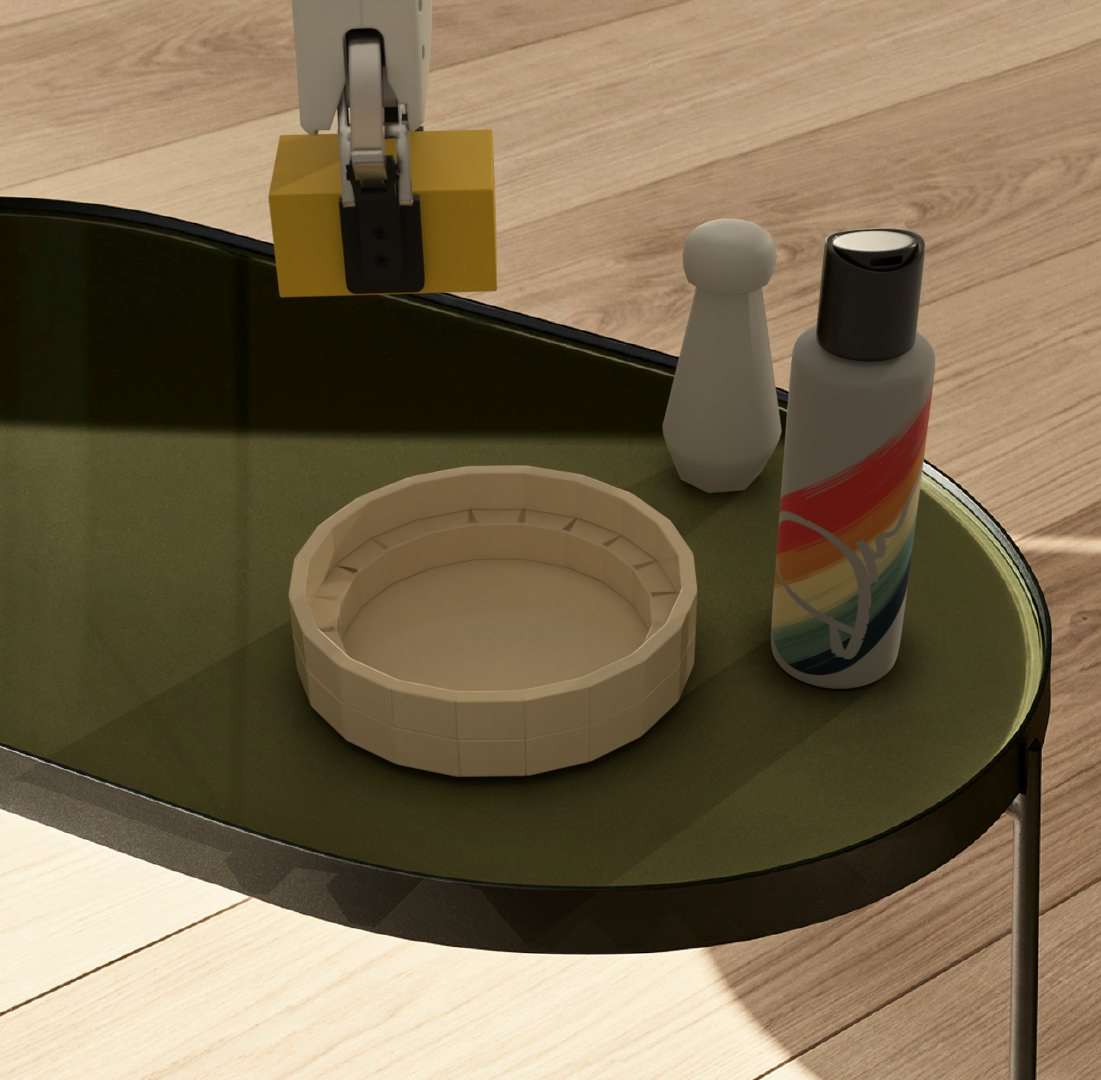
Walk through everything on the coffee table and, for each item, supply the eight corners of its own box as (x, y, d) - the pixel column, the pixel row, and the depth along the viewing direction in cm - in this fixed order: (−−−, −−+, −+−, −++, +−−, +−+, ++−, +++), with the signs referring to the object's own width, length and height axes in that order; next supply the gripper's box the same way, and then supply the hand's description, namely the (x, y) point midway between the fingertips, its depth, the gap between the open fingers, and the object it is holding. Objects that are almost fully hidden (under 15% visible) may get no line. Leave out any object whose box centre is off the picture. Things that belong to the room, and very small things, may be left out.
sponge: (279, 298, 82) (267, 195, 80) (290, 233, 87) (279, 134, 84) (497, 292, 83) (493, 189, 80) (496, 227, 87) (492, 128, 84)
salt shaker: (748, 431, 103) (762, 195, 95) (797, 488, 99) (816, 246, 90) (643, 454, 101) (648, 215, 93) (688, 512, 97) (698, 268, 89)
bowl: (281, 789, 82) (270, 704, 79) (316, 547, 95) (308, 467, 92) (705, 783, 82) (709, 698, 79) (680, 543, 95) (683, 462, 92)
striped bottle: (787, 698, 86) (822, 274, 73) (756, 621, 90) (784, 208, 78) (914, 684, 87) (971, 262, 74) (877, 608, 91) (925, 196, 78)
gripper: (271, -260, 80) (314, 169, 91) (229, -126, 66) (285, 356, 78) (459, -265, 80) (478, 164, 91) (454, -132, 66) (477, 350, 78)
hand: (389, 248), depth 84 cm, fingers closed on sponge, 6 cm apart
